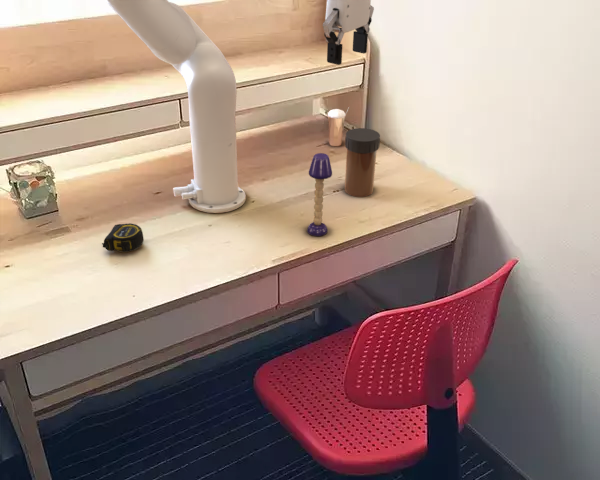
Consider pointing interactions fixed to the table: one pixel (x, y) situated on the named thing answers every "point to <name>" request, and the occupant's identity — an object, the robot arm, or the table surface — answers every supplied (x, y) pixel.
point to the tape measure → (124, 238)
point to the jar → (360, 173)
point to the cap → (362, 140)
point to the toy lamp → (319, 191)
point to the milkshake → (336, 126)
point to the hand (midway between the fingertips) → (347, 57)
